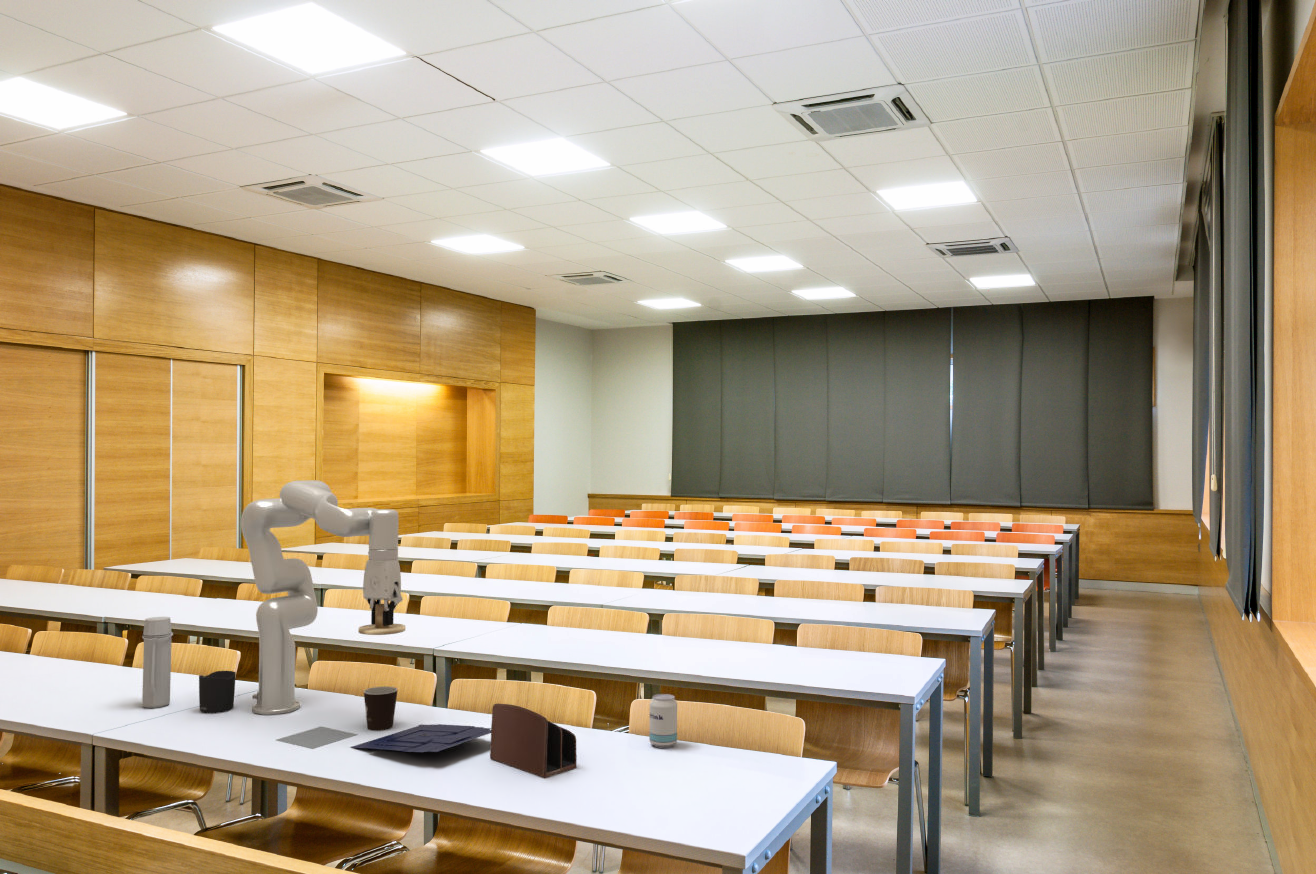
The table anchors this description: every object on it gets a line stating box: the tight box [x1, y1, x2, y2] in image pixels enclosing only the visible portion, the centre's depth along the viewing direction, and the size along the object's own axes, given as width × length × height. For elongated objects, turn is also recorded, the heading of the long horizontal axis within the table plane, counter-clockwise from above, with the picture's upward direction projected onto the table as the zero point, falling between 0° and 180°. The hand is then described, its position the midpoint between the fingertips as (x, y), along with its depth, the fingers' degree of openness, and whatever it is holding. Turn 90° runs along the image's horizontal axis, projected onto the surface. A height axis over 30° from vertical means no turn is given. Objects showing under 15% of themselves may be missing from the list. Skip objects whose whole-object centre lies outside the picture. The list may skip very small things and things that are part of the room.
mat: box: [275, 726, 359, 750], centre depth 230 cm, size 14×14×1 cm
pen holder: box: [198, 670, 237, 714], centre depth 257 cm, size 9×9×10 cm
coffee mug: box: [363, 686, 399, 732], centre depth 241 cm, size 12×9×10 cm
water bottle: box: [141, 616, 174, 709], centre depth 260 cm, size 9×8×25 cm
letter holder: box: [489, 703, 578, 779], centre depth 212 cm, size 10×20×14 cm, turn 48°
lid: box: [358, 603, 406, 636], centre depth 241 cm, size 12×12×7 cm
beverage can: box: [648, 693, 678, 749], centre depth 227 cm, size 7×7×12 cm
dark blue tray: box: [351, 723, 491, 753], centre depth 224 cm, size 24×30×4 cm
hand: (382, 623), depth 241 cm, fingers closed on lid, 3 cm apart
